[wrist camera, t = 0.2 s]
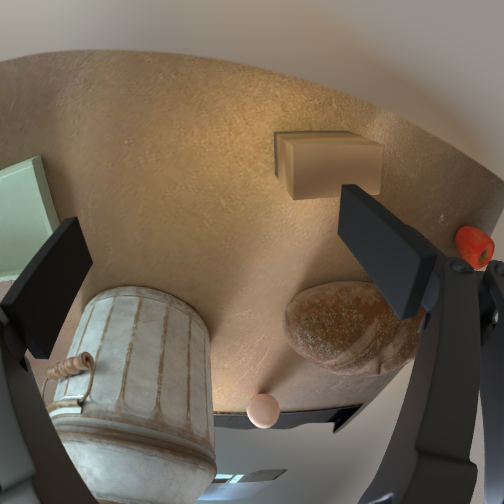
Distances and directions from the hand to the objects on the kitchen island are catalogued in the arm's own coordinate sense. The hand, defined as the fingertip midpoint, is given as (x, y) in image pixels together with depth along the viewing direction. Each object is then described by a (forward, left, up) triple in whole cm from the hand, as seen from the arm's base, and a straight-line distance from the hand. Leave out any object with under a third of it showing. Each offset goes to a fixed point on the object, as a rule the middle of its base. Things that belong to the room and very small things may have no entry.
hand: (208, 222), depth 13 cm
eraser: (+2, +12, -19) cm, 22 cm away
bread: (+29, +22, -19) cm, 41 cm away
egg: (+50, +4, -19) cm, 53 cm away
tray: (+5, -30, -19) cm, 36 cm away
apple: (+16, +41, -19) cm, 48 cm away
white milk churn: (+28, -14, -19) cm, 37 cm away
